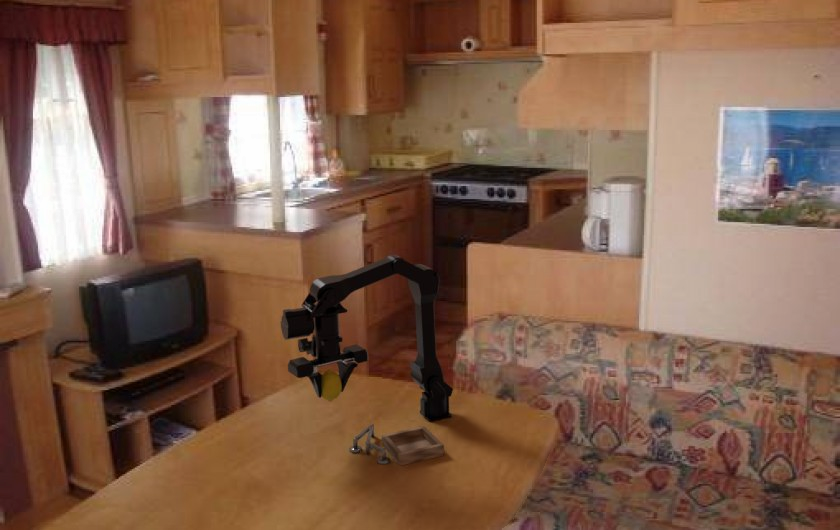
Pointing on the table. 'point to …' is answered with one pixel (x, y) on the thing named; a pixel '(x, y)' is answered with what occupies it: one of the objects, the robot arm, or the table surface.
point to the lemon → (331, 385)
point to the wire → (369, 445)
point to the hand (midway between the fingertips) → (330, 394)
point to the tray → (412, 445)
